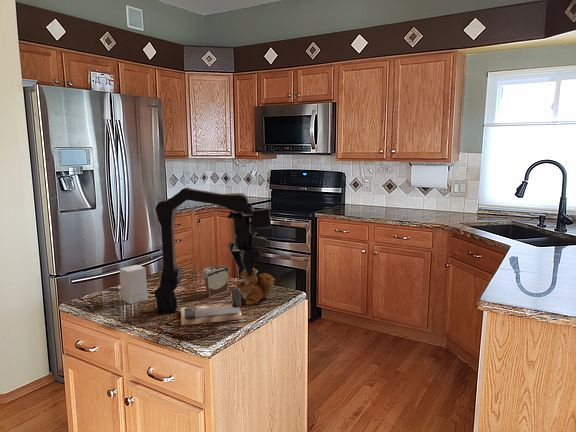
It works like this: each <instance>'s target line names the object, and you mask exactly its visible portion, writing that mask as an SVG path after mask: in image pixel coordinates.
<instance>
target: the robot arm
mask: <svg viewBox="0 0 576 432" xmlns="http://www.w3.org/2000/svg"><path fill="white" fill-rule="evenodd" d="M186 201H192V202H198V203H199V202H200V203H204V204H212V205H217V206H222V207H224V208H226V209H228V210H230V212H229V214H228V215H227V216H226V218H227V219H232V223H233V224H232V225H233V232H232V237H234V241H229V243H228V244H227V250H228V251H229V253H230V254H231V256H232V258H233V260H234V262H235V263H236V265H237V267H238V270H239V271H243V270H244V269H245V270H246V272H247V275H248V276H249V277H250V276H252V272H253V268H255V267H254V266H255V263H256V262H257V260H260V258H261V257H262V252H261V251H262V250H260V249H258V248H257V247H259V248H263V249H266V246H267V243H268V239H267V238H265V237H263V236H261V234H260V233H258V232H252V231H251V227H253V228H254V229H255V230H258V229H259V230H260V229H262V230H263V229H271V228H272V218H271V213H270V208H269V207H267V208H264V209H255V208H254V207H253V205H252V204H251V203H250V202H249V197H248V196H247V195H246V194H245V193H241V192H239V193H237V192H235V193H234V192H232V193H220V192H219V193H218V192H213V191H208V190H207V191H206V190H203V189H195V188H190V187H184V188H181V190H179V192H178V193H176V194H174V195H173V196H172V197H170V198H165V199H164V200H161V201H160V202H158V203H156V207H155V213H156V216H157V220H158V223H159V225H160V228H161V229H160V231H161V233H160V234H161V248H162V249H161V250H162V264H163V266H162V270H161V275H160V282H159V286H158V287H157V288H156V289H155V290H154V291H153V295H154V297H155V299H156V315H162V314H163V315H164V314H172V313H174V314H175V313H176V312H177V309H178V300H177V299H178V298H177V295H176V294H175V293H176V292H175V290H176V289H177V288H178V287H179V285H180V283H181V281H182V280H183V277H182V267H179V268H178V266H177V261H176V243H175V241H176V240H175V222H176V217H177V211H178V207H180V205H182V204H184V203H185V202H186ZM250 221H251V223H250Z"/></svg>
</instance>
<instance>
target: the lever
mask: <svg viewBox="0 0 576 432" xmlns="http://www.w3.org/2000/svg"><path fill="white" fill-rule="evenodd" d="M241 293H242V292H241V288H237V287H233V288H231V303H232V306H222V307H212V308H201V309H195V308H194V307H195V306H189V308H187V307H185V308H186V309H185V310H184V311H185V318H186V319H193V318H195V317H201V316H210V315H220V314H230V313H240V311H241V307H242V299H241Z"/></svg>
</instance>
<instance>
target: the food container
mask: <svg viewBox="0 0 576 432" xmlns="http://www.w3.org/2000/svg"><path fill="white" fill-rule="evenodd" d="M230 272H231V270H230V266H227V265H214V266H209V267H206V268H204V269H203V271H202V274H201V275H202V278H204V286H205V293H206V296H207V297H208V298H212V297H214V296H217V295H221V294H223V293H226V292H228V291H229V273H230Z"/></svg>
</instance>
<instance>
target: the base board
mask: <svg viewBox="0 0 576 432" xmlns="http://www.w3.org/2000/svg"><path fill="white" fill-rule="evenodd" d="M222 306H232V302H231V303H221V304H209V305H198V306H193V307H194V308H195V309H201V308H212V307H222ZM189 307H190V306H189ZM189 307H180V320H181V321H180V324H181V325H180V326H188V325H190V326H191V325H198V324H206V323H207V324H208V323H218V322H226V321H236V320H237V321H238V320H243V314H242V311H241V310H240V313H230V314H220V315H210V316H201V317H195V318H193V319H186V318H185V311H184V310H185V309H186V308H189Z"/></svg>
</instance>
